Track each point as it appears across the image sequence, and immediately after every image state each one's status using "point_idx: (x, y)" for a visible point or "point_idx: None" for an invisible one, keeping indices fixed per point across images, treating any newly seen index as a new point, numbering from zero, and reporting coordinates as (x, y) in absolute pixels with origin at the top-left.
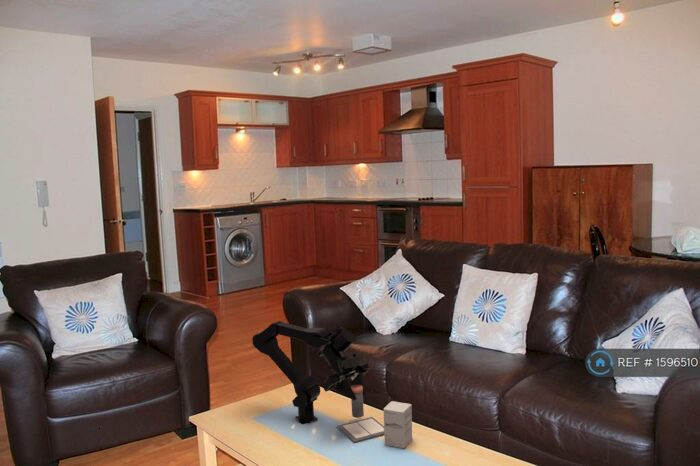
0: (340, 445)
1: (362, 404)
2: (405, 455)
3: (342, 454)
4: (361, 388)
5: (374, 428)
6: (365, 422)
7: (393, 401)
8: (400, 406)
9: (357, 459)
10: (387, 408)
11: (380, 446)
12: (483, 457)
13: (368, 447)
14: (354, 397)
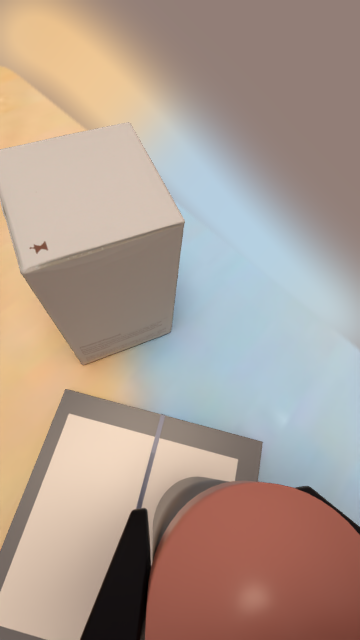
0: (323, 476)
1: (191, 484)
2: None
3: (352, 399)
4: (239, 487)
5: (94, 478)
6: (65, 598)
7: (22, 254)
8: (72, 169)
9: (321, 327)
10: (160, 205)
11: (189, 337)
12: (24, 98)
13: (232, 366)
14: (326, 502)
